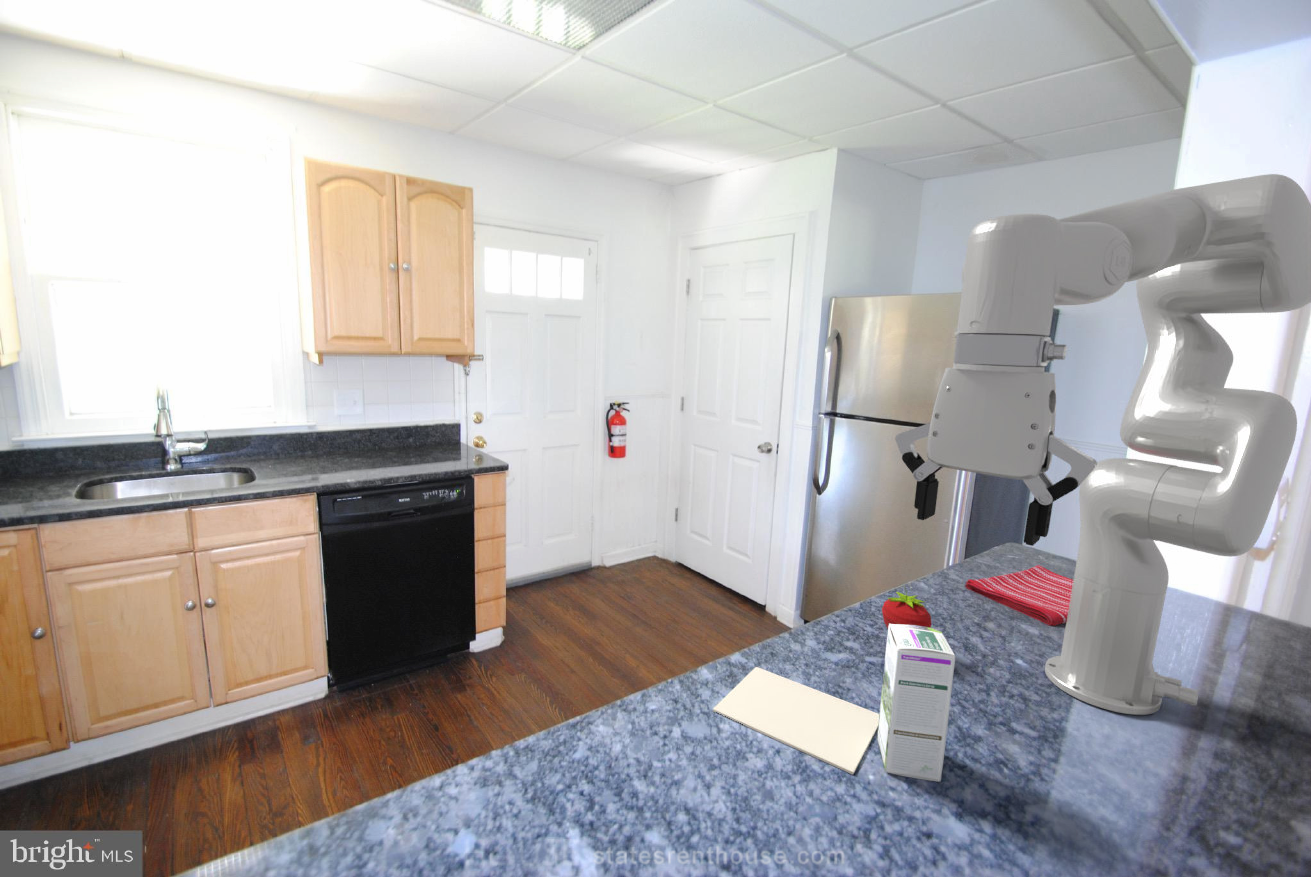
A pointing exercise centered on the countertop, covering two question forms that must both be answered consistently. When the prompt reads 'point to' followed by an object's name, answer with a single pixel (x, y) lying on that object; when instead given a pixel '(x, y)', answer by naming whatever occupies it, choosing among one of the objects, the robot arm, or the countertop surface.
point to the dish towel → (1029, 593)
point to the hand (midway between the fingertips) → (975, 528)
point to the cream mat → (802, 718)
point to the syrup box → (915, 701)
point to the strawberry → (905, 611)
